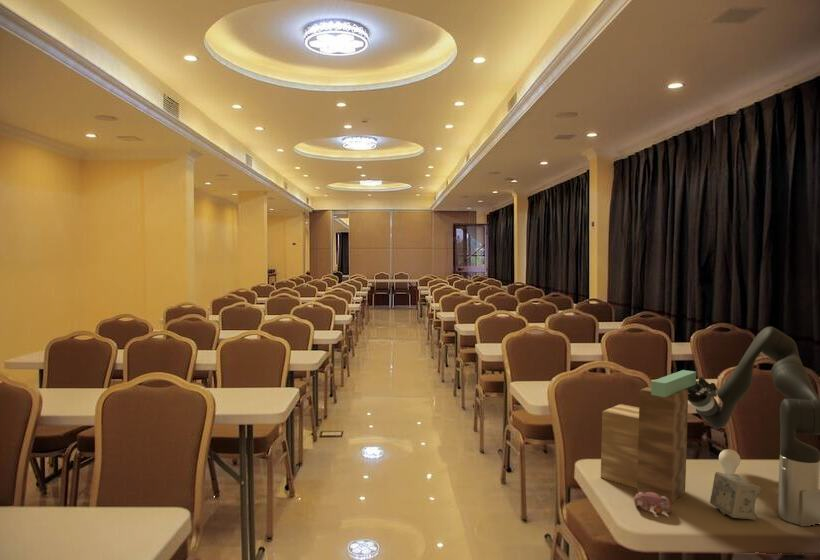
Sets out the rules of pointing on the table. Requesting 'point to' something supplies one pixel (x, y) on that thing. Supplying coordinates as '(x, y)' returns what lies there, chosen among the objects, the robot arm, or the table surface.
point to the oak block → (620, 444)
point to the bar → (673, 383)
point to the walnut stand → (662, 443)
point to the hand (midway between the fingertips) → (685, 377)
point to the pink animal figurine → (652, 502)
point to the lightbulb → (729, 461)
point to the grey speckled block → (734, 496)
